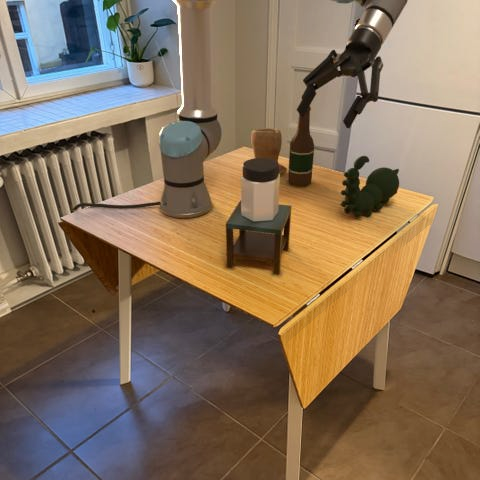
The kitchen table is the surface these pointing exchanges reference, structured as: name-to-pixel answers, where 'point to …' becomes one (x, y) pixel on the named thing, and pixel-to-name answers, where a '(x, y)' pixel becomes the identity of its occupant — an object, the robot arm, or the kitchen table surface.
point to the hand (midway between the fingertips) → (322, 119)
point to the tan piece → (267, 145)
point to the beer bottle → (301, 153)
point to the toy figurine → (368, 189)
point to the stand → (258, 237)
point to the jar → (260, 189)
